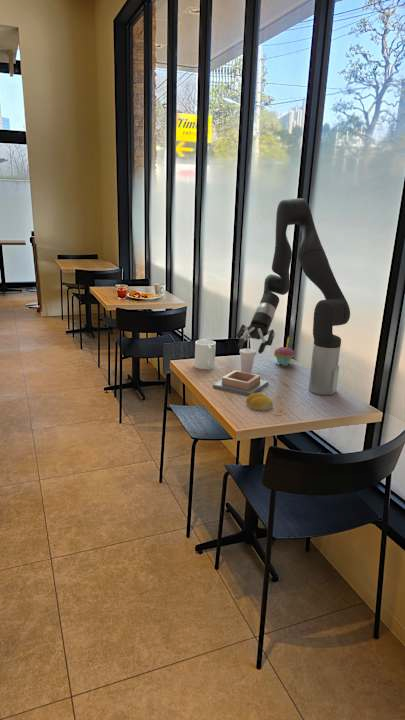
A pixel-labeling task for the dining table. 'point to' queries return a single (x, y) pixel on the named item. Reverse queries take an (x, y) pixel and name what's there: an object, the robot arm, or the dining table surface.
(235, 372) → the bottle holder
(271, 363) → the dining table surface
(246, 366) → the smoothie
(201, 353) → the cup
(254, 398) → the bread roll
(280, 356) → the cupcake
